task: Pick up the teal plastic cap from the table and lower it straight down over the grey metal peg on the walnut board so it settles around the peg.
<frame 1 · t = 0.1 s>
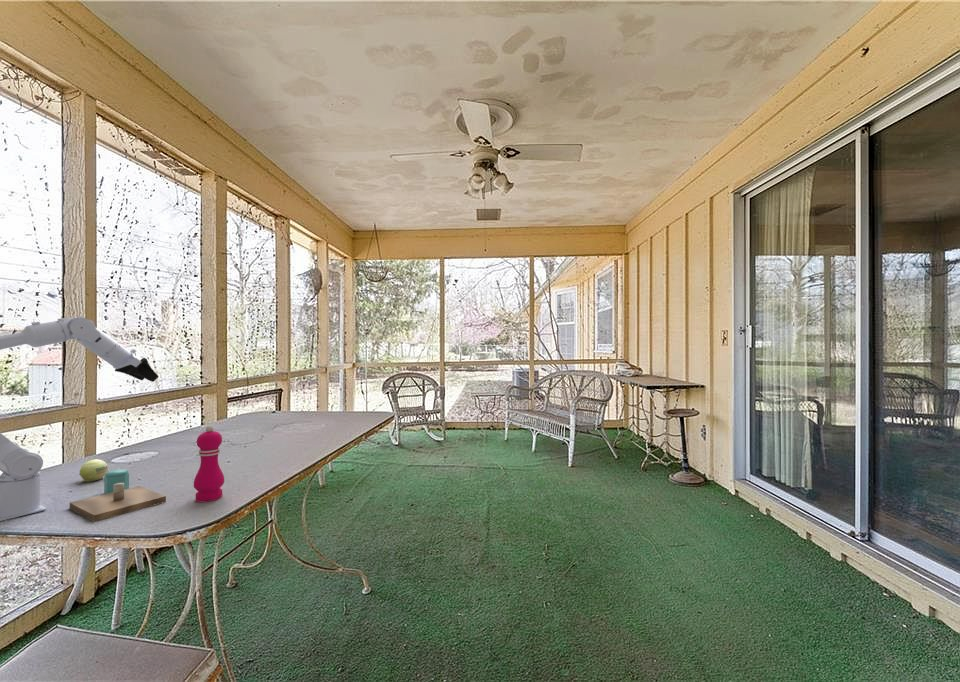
hand: (150, 378, 131), 32 cm above the table, tool tilted 50°, fingers open, 7 cm apart
peg board: (118, 504, 112), on the table
cap: (116, 491, 122), on the table
pepper mill: (209, 498, 118), on the table
lemon: (93, 480, 133), on the table
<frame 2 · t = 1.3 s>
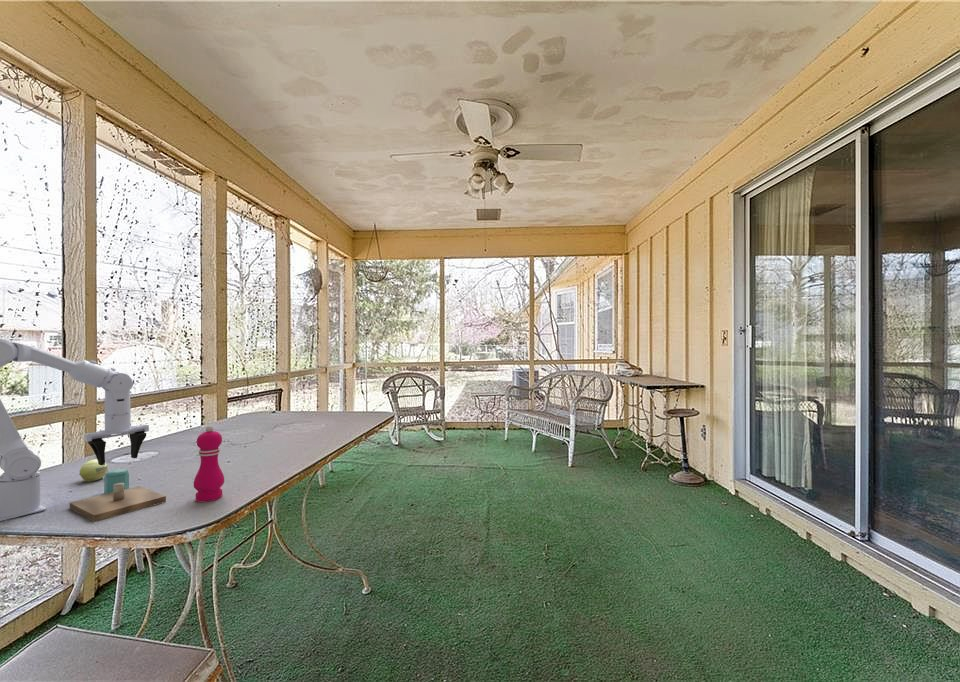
hand: (118, 461, 123), 9 cm above the table, tool pointing down, fingers open, 7 cm apart
nothing on the table moved.
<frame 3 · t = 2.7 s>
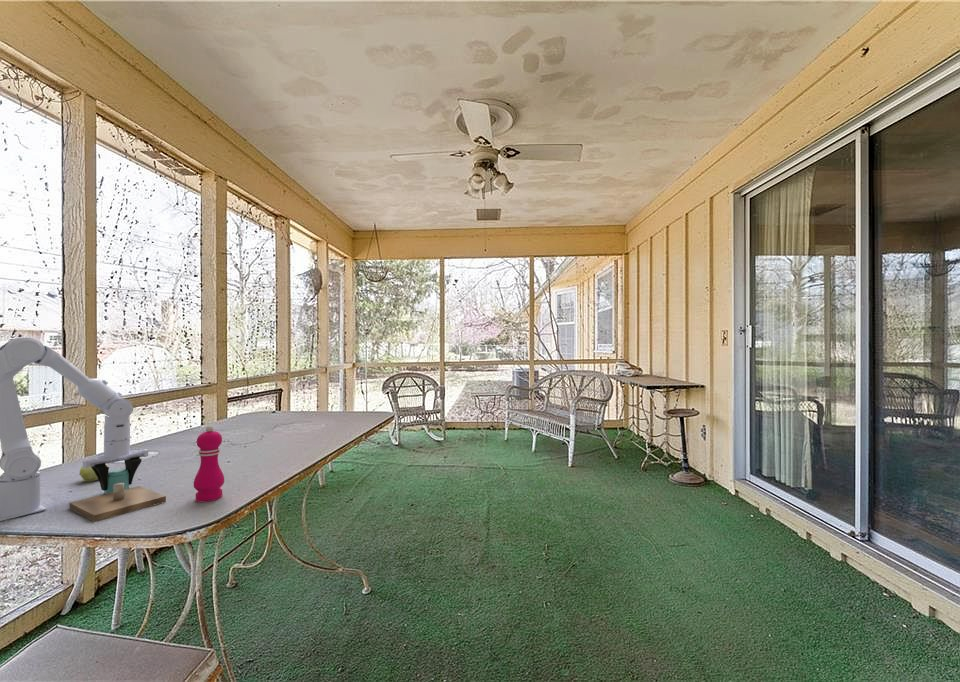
hand: (116, 486, 122), 1 cm above the table, tool pointing down, fingers closed on cap, 5 cm apart
cap: (116, 491, 122), on the table, touching gripper
everything else where it was.
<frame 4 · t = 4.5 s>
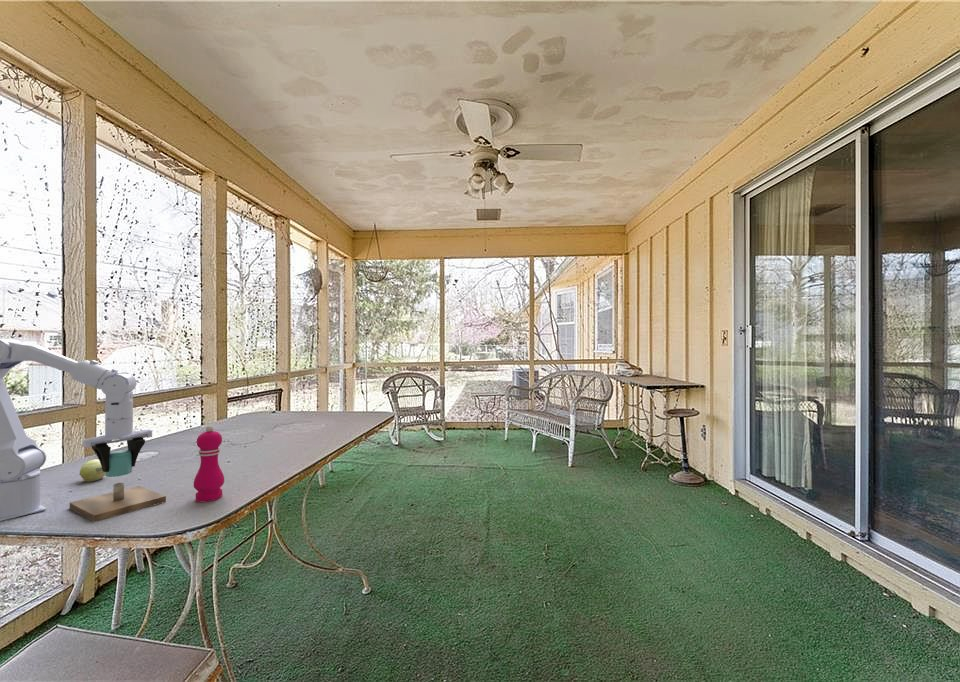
hand: (118, 468, 114), 9 cm above the table, tool pointing down, fingers closed on cap, 5 cm apart
cap: (118, 474, 114), point 8 cm above the table, touching gripper
everything else where it was.
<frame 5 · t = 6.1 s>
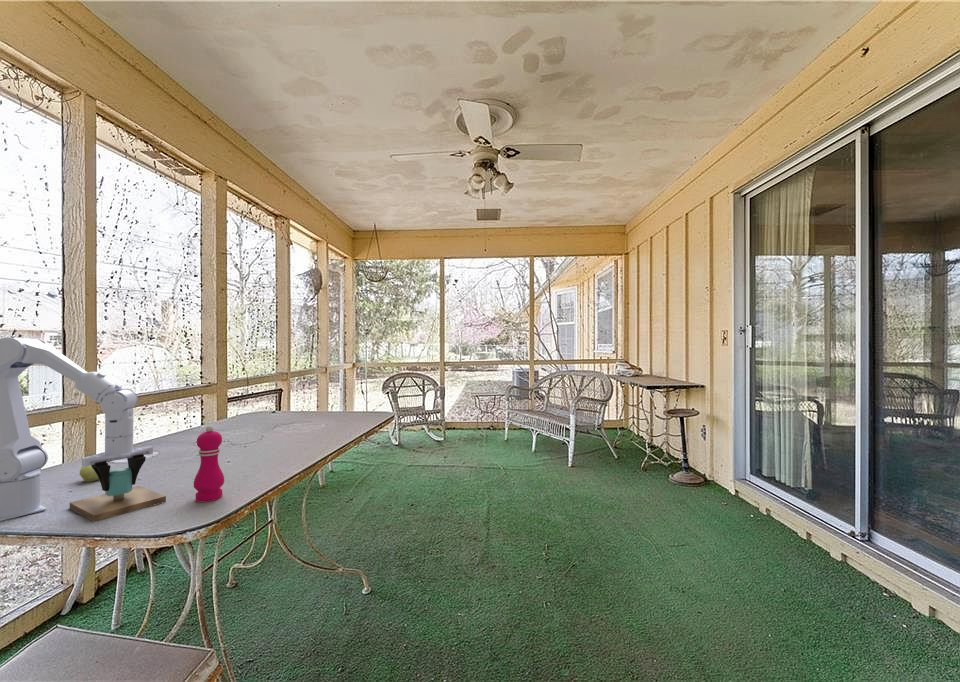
hand: (118, 487, 112), 5 cm above the table, tool pointing down, fingers closed on cap, 5 cm apart
cap: (118, 492, 112), point 3 cm above the table, touching gripper
everything else where it was.
when the fingers open (4 cm above the table, at t = 7.4 s): cap drops 1 cm, resting on peg board.
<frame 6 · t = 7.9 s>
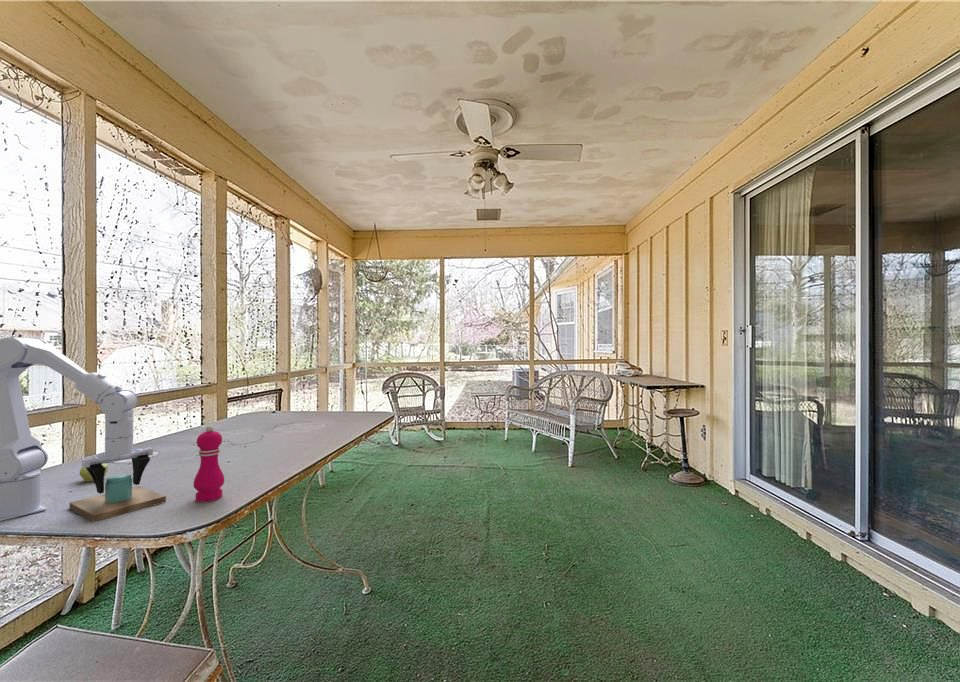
hand: (118, 488, 112), 4 cm above the table, tool pointing down, fingers open, 7 cm apart
cap: (118, 499, 112), point 1 cm above the table, touching peg board
everything else where it was.
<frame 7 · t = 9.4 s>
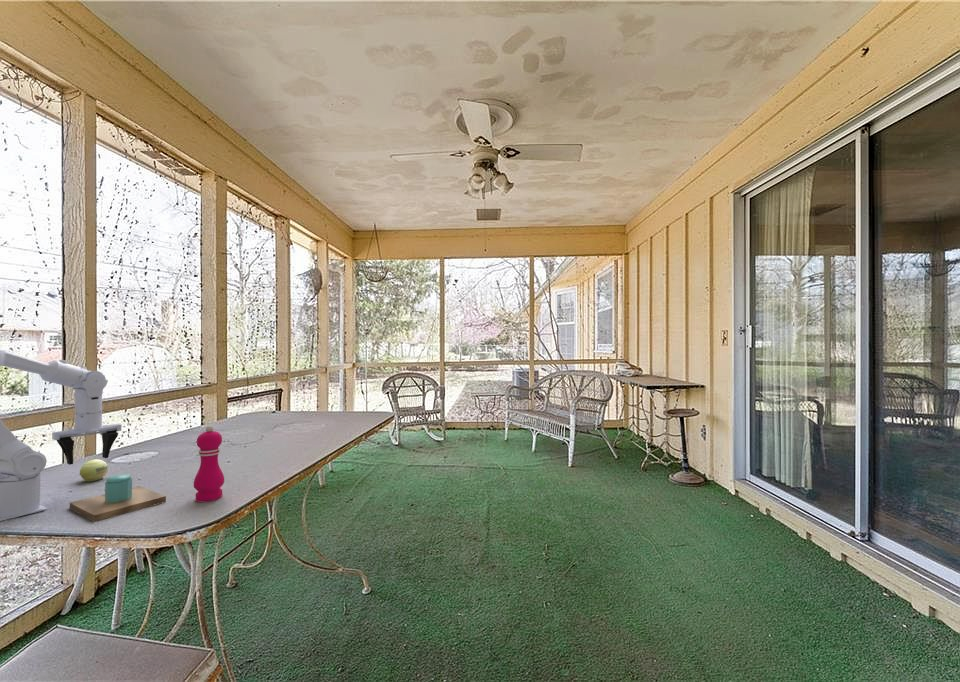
hand: (88, 460, 121), 9 cm above the table, tool pointing down, fingers open, 7 cm apart
nothing on the table moved.
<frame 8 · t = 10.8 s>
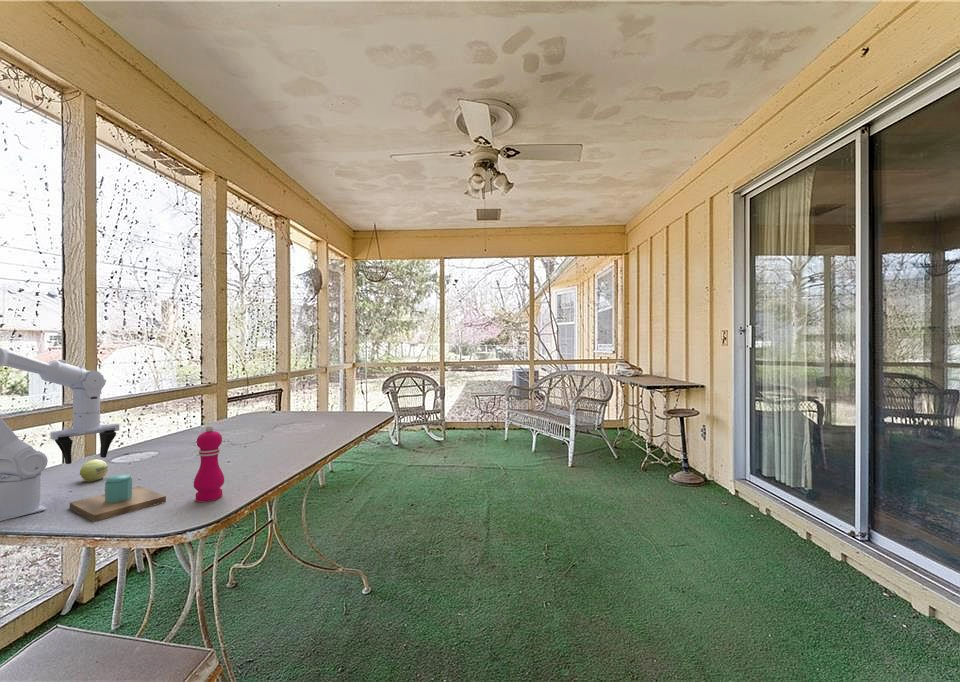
hand: (86, 460, 121), 9 cm above the table, tool pointing down, fingers open, 7 cm apart
nothing on the table moved.
at the end: cap 0.0 cm off-centre on the peg board, point 1.5 cm above the peg board's base; cap tilted 0°; the gripper is holding nothing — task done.
